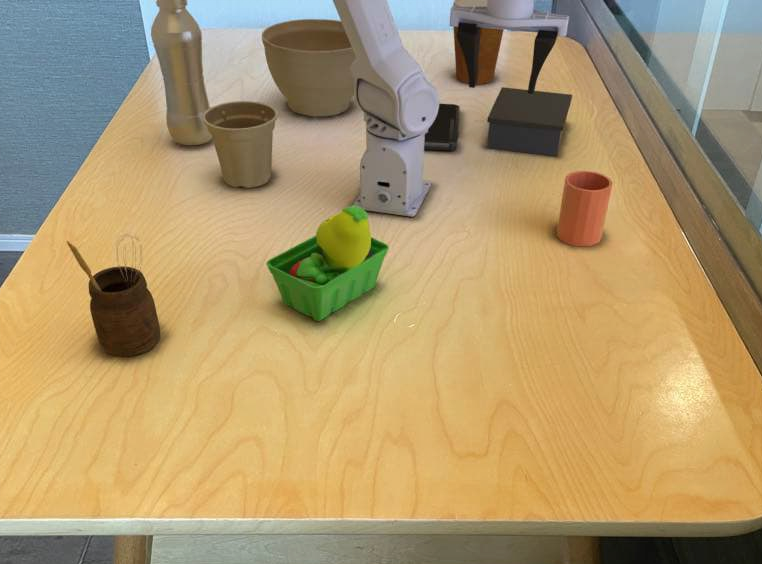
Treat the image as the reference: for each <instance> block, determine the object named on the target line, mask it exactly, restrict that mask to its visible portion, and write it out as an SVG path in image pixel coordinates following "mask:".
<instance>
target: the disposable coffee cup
mask: <svg viewBox="0 0 762 564" xmlns="http://www.w3.org/2000/svg"><path fill="white" fill-rule="evenodd" d="M453 6H487V0H453V4H452V6H451V7H450V10H451V9H452V7H453ZM452 27H453V28H452V29H453V40H454V41H453V43H454V60H455V61H454V62H455V77H456V79H457V80H458V81H460V82H462V83H464V84H469V77H468V71H467V66H466V62H465V58H464V55H463V52H462V50H461V47H460V45H459V42H458V40H457V35H456V33H457V32H458V27H454V26H452ZM504 31H505V29H494V28H483V27H482V28H481V36H480V44H479V53H478V78H477V84H476V85H485V84H489V83H490V82H492V81H494V78H495V72H496V67H497V64H498V59H499V58H498V57H499V53H500V48H501V44H502V40H503V35H504Z"/></svg>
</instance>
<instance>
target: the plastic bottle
mask: <svg viewBox="0 0 762 564" xmlns="http://www.w3.org/2000/svg"><path fill="white" fill-rule="evenodd" d="M155 5H156V7H157V8H159V10H158V12H157V14H156V16H155V18H154V20H153V22H152V24H151V28H150V36H151V40H152V44H153V47H154V50H155V53H156V57H157V59H158V63H159V67H160V72H161V75H162V80H163V84H164V92H165V93H164V94H165V104H166V114H165V118H166V119H165V120H166V127H167V130H168V133H169V136H170V137H171V138H172V139H173V140H174V142H175V143H178V144H180V145H185V146H198V145H203V144H205V143H208V142H209V141H211V140H213V139H212V135H211V134H210V133H209V131H208V128H207V125H206V124H205V123H204V122H203V119H202V116H203V113H204V112H205V111H206V110H208V109H209V108H211V105H210V101H209V98H208V93H207V89H206V84H205V77H204V68H203V67H204V66H203V33H202V30H201V28H200V26H199V23H198V22H197V21H196V19H195V18H194V17H193V16H192V14H191V13H190V12H189V10H187V6H188V0H156V1H155Z"/></svg>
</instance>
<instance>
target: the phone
mask: <svg viewBox="0 0 762 564" xmlns="http://www.w3.org/2000/svg"><path fill="white" fill-rule="evenodd" d="M460 110H461V109H460V105H458V104H455V103H439V109H438V113H437V116H436V118H435V120H434V122H433V124H432V125H431V126H430V127H429V128H428V133H425V141H424V151H439V152H440V151H443V152H452V151H456V150H457V149H458V147H457V146H458V142H459V141H458V139H459V124H460V123H459V121H460Z"/></svg>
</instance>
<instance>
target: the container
mask: <svg viewBox="0 0 762 564" xmlns="http://www.w3.org/2000/svg"><path fill="white" fill-rule="evenodd" d="M572 99H573V94H570V93H561V92H560V93H559V92H550V91H543V90H541V91H540V90H534V93H533V94H528V89H522V88H513V87H505V86H504V87H503V86H502V87H500V90H499V93H498V94H497V96H496V99H495V101H494V103H493V105H492V108H491V109H490V112H489V114H488V116H487V118H486V123H489V124H488V133H487V134H488V136H487V146H486V147H487V149H493V150H500V151H507V152H508V151H509V152H518V153H526V154H535V155H541V156H542V155H543V156H551V157H558V154H559V151H560V147H561V143H562V140H563V135H564V133H565V128H566V125H567V120H568V119H567V118H568V115H569V109H570V106H571V103H572Z"/></svg>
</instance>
